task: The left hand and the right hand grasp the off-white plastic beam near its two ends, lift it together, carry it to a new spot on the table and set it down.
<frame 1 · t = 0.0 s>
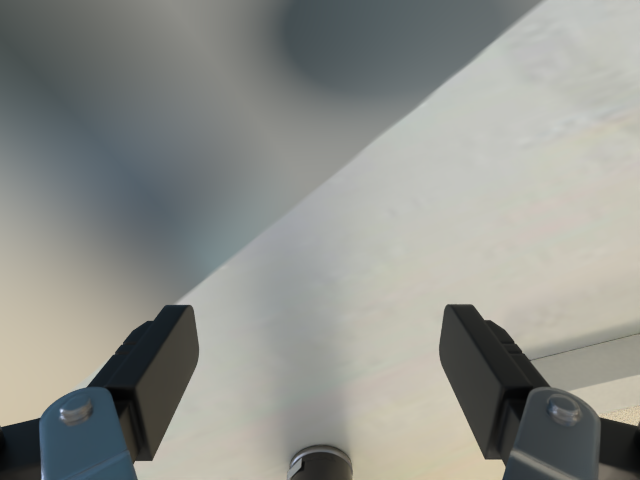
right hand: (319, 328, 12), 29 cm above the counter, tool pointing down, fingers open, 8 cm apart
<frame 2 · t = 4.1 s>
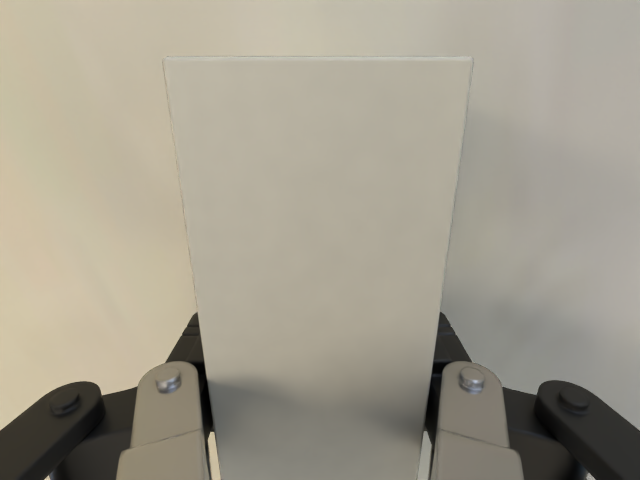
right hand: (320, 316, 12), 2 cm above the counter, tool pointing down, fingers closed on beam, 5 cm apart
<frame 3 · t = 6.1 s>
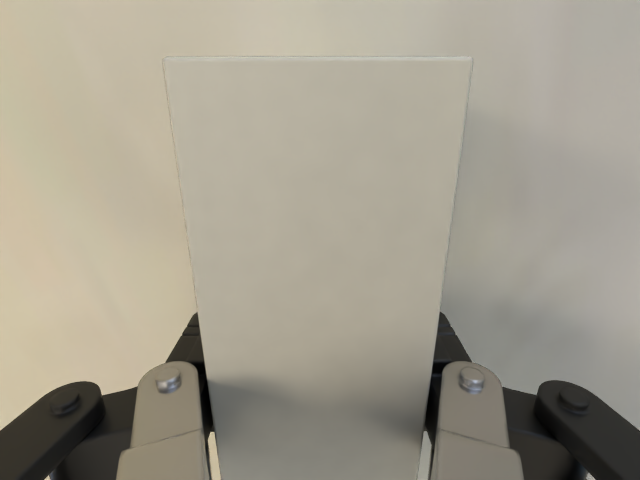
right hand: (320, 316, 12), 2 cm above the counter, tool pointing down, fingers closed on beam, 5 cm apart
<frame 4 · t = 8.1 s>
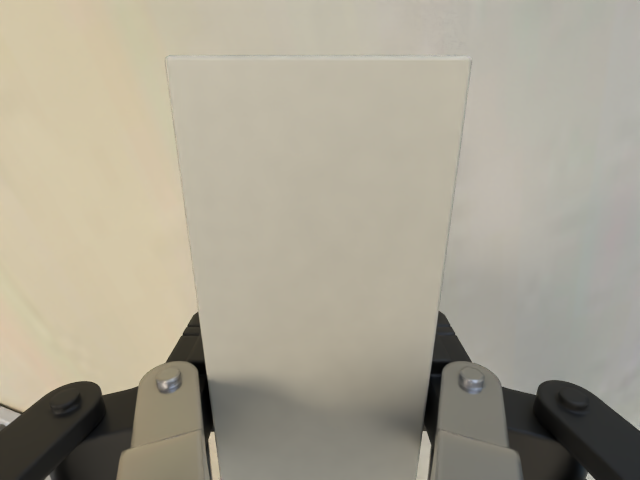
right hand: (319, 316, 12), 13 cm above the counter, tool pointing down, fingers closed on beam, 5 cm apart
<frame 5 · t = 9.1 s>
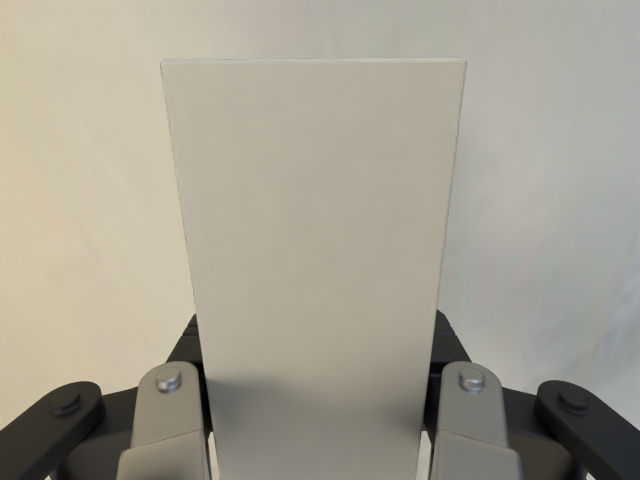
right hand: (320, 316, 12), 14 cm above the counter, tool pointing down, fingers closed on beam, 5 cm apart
when the left hand's fingers open (4 cm above the counter, at t = 12.0 s): beam drops 1 cm, on the counter.
when the right hand's fingers open (3 cm above the counter, at t = 12.0 s): beam drops 1 cm, on the counter.
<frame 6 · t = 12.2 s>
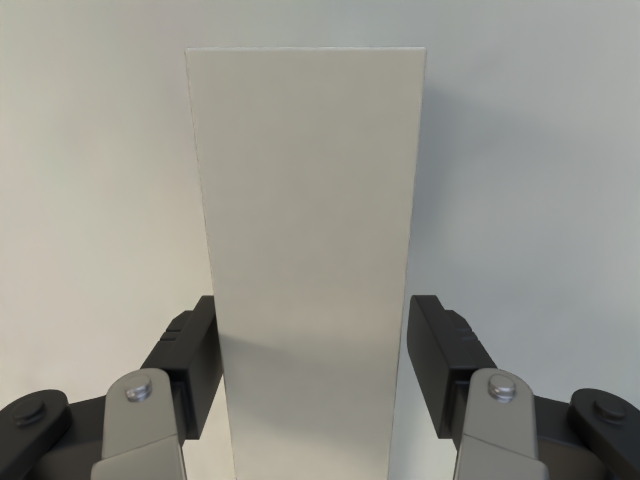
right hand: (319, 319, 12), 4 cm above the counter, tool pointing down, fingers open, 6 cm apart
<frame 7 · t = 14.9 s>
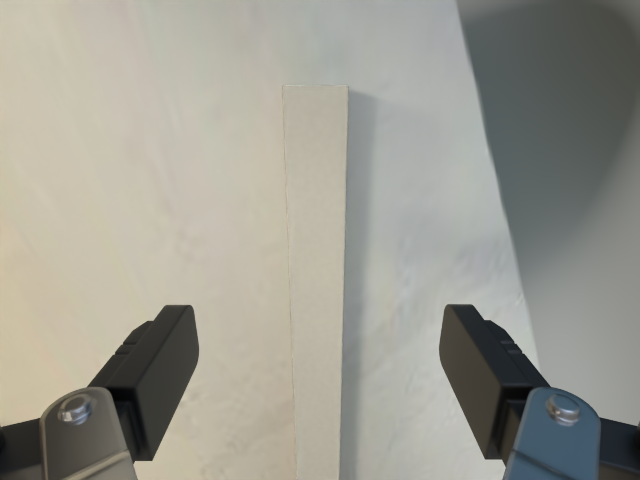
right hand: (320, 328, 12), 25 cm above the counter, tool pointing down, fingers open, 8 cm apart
beam: (317, 388, 45), on the counter
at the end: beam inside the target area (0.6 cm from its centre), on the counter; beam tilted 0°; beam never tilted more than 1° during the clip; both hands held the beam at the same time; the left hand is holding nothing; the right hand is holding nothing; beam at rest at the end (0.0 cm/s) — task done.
